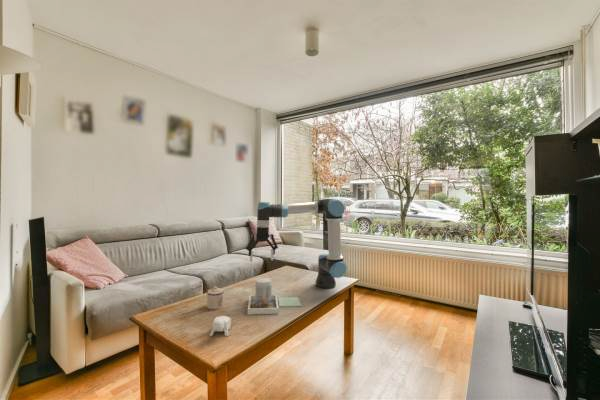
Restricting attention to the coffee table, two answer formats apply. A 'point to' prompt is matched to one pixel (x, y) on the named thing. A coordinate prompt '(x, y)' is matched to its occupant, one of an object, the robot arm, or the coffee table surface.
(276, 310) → the parts tray
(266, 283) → the supplement tub
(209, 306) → the teacup with lid
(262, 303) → the walnut block
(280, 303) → the mat
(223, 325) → the white animal figurine
